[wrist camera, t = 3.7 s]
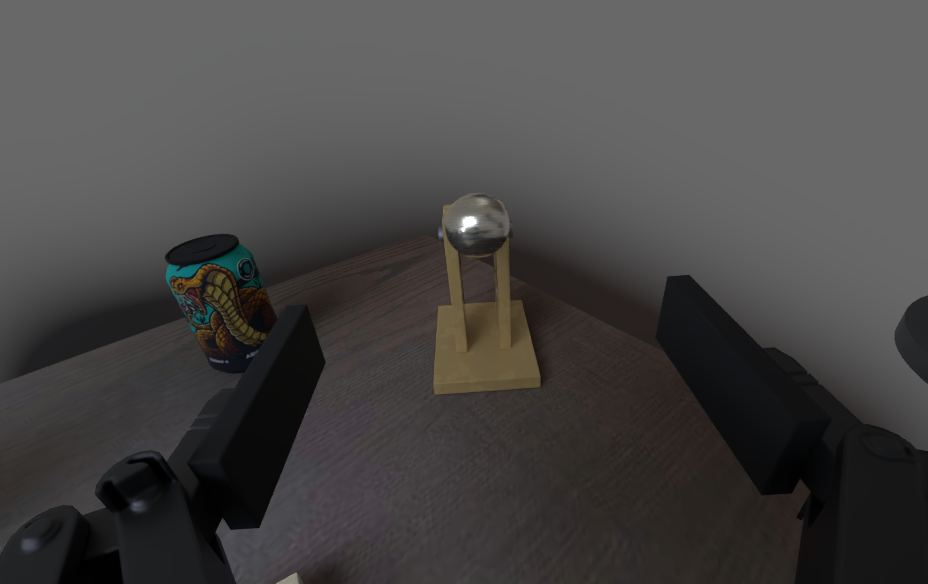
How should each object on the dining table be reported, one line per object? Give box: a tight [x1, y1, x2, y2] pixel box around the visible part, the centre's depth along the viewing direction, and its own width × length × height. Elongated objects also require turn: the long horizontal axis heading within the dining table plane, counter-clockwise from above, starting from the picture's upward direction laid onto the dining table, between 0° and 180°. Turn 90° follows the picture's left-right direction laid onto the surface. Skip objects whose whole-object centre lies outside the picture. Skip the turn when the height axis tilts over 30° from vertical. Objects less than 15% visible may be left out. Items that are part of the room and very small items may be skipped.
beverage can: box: [165, 234, 277, 373], centre depth 39 cm, size 7×7×12 cm
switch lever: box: [445, 193, 509, 258], centre depth 29 cm, size 14×4×4 cm, turn 1°
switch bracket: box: [433, 200, 541, 395], centre depth 37 cm, size 12×9×14 cm
